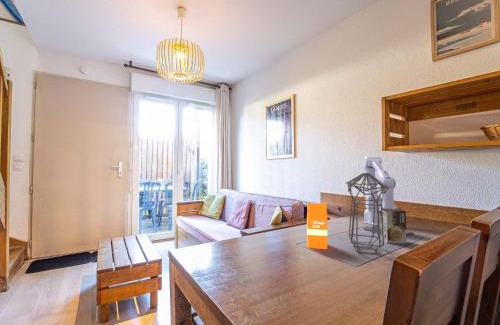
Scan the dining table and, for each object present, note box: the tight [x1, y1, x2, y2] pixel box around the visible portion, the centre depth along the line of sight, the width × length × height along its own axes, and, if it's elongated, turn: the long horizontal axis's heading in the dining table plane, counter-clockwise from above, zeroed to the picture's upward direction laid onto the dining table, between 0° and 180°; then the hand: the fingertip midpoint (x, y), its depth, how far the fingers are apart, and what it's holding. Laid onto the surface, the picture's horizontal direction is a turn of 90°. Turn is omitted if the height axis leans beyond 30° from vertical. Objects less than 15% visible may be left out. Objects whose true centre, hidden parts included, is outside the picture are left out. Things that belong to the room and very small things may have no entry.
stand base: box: [363, 224, 415, 236], centre depth 137 cm, size 18×18×5 cm
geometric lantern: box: [345, 172, 390, 255], centre depth 106 cm, size 16×16×35 cm
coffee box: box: [382, 208, 407, 245], centre depth 119 cm, size 9×6×16 cm
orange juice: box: [306, 202, 328, 250], centre depth 113 cm, size 8×9×20 cm
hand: (387, 222), depth 137 cm, fingers closed on column, 4 cm apart
